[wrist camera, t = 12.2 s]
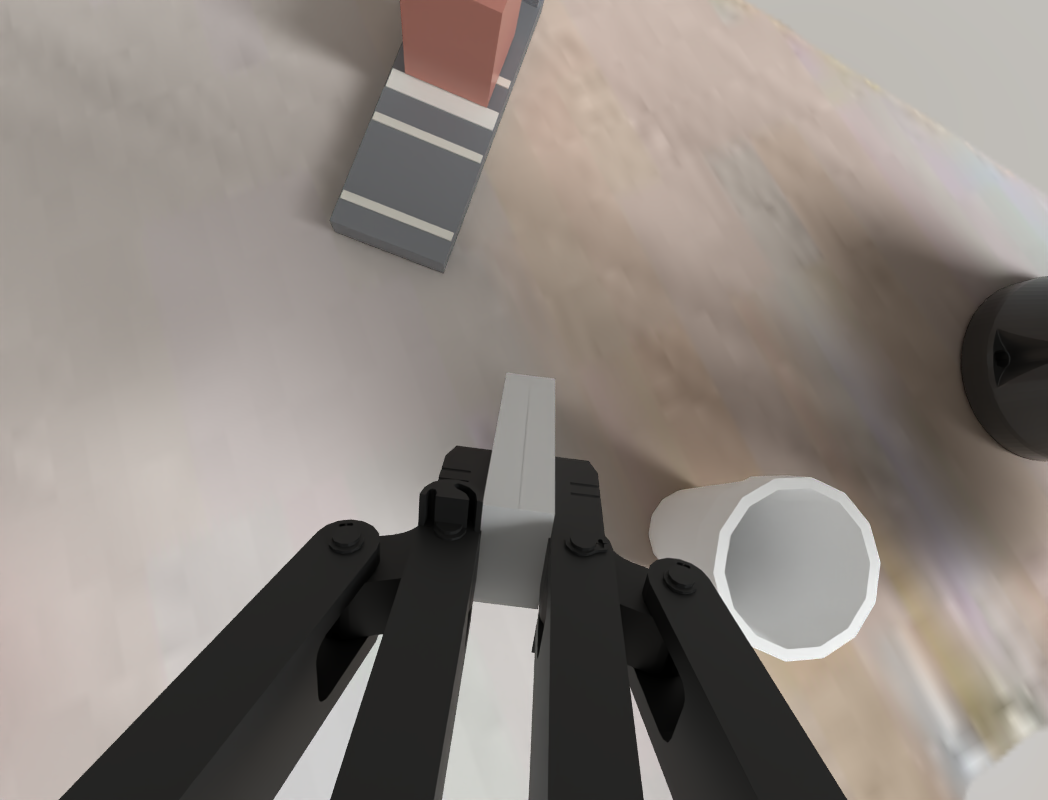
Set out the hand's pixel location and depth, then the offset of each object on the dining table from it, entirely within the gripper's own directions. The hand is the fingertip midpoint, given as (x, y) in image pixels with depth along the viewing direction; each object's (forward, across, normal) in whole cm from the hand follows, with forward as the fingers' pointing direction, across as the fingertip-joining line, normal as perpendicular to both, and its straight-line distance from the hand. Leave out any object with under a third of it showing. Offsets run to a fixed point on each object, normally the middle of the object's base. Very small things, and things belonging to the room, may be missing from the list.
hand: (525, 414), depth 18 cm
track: (+31, -8, +7) cm, 33 cm away
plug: (+31, -7, +11) cm, 34 cm away
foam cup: (+19, +14, -18) cm, 29 cm away
